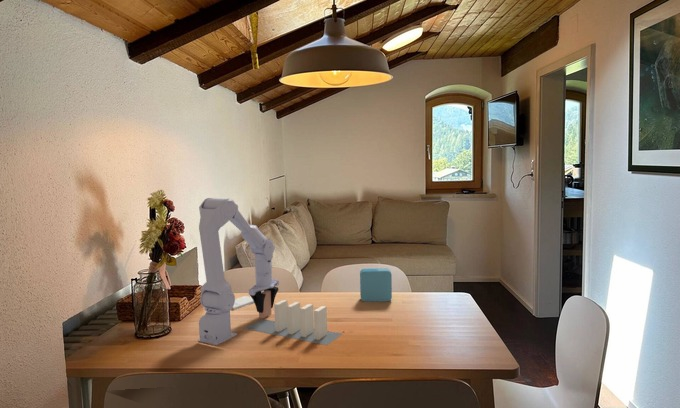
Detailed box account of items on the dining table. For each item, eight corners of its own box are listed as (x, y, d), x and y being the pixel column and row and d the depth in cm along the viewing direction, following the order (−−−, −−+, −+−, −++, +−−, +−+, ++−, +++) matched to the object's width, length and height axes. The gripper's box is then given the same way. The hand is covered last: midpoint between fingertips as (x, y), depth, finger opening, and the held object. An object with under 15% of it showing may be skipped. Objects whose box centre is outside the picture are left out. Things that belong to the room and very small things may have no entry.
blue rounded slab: (390, 297, 187) (390, 268, 186) (391, 301, 183) (391, 270, 181) (360, 298, 187) (359, 268, 186) (360, 301, 183) (360, 271, 182)
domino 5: (318, 339, 144) (318, 311, 144) (314, 339, 145) (313, 310, 144) (327, 334, 149) (326, 306, 148) (322, 333, 150) (322, 305, 149)
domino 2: (279, 332, 152) (278, 304, 151) (275, 331, 152) (274, 304, 152) (288, 326, 156) (287, 300, 155) (284, 326, 157) (283, 299, 156)
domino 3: (292, 334, 149) (291, 306, 148) (287, 333, 150) (287, 306, 149) (300, 329, 154) (300, 302, 153) (296, 328, 154) (295, 301, 154)
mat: (326, 346, 140) (326, 345, 140) (243, 329, 156) (243, 328, 156) (342, 335, 149) (342, 333, 149) (262, 320, 164) (262, 318, 164)
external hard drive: (258, 302, 186) (234, 311, 176) (244, 299, 191) (219, 307, 181) (258, 298, 186) (233, 307, 176) (244, 295, 191) (219, 303, 181)
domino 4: (305, 337, 147) (304, 309, 146) (301, 336, 148) (300, 308, 147) (313, 331, 151) (313, 304, 150) (309, 331, 152) (308, 303, 151)
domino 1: (262, 319, 165) (261, 294, 164) (259, 318, 166) (258, 293, 165) (271, 315, 169) (270, 290, 168) (267, 314, 170) (267, 290, 169)
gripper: (259, 278, 158) (261, 317, 159) (285, 268, 170) (286, 305, 172) (243, 276, 161) (244, 314, 162) (269, 267, 174) (270, 302, 175)
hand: (265, 309), depth 167 cm, fingers closed on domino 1, 5 cm apart
